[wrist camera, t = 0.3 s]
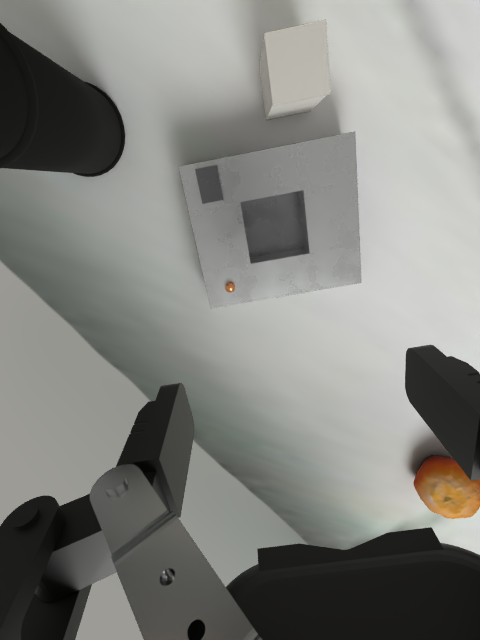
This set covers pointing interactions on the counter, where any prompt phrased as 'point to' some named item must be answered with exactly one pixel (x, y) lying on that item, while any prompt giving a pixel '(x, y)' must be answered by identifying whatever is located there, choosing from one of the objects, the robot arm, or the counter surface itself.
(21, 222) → the counter surface
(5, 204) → the counter surface
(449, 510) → the fruit
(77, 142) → the aerosol can
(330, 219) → the socket
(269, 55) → the white plain square block
